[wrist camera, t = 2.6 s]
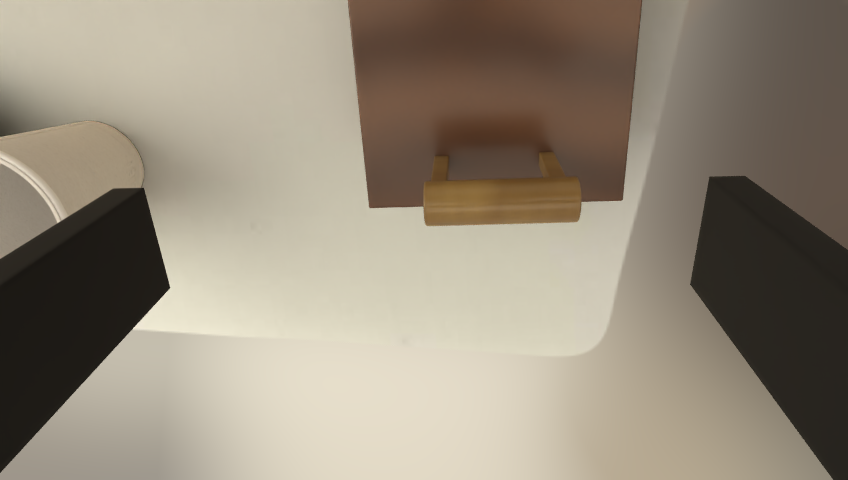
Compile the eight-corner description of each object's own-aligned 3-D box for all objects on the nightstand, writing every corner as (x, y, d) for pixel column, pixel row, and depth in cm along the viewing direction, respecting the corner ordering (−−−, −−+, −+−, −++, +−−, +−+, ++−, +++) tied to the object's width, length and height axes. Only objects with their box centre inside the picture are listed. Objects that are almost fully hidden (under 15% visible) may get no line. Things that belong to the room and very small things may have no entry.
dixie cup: (48, 215, 39) (-76, 289, 30) (25, 91, 35) (-125, 133, 26) (169, 230, 39) (81, 308, 30) (158, 107, 35) (54, 155, 26)
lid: (618, 195, 29) (663, 259, 22) (371, 202, 30) (346, 266, 23) (651, -145, 23) (725, -191, 16) (338, -122, 24) (292, -156, 17)
